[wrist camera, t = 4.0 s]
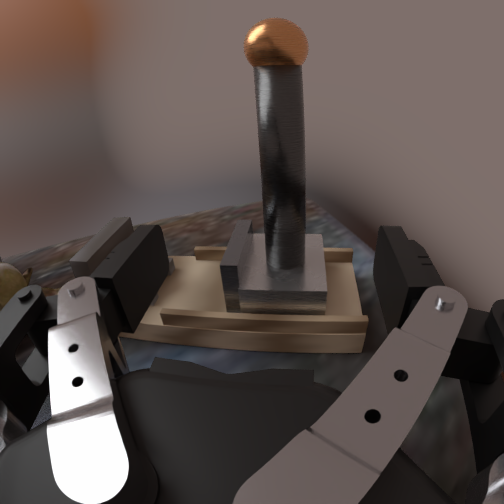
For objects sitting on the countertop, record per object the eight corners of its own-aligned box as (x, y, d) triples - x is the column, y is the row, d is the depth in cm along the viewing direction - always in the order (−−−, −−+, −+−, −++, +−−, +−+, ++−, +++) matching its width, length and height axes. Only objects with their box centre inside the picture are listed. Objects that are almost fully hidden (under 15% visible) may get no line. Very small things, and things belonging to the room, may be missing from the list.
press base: (83, 330, 26) (54, 267, 22) (127, 269, 34) (110, 214, 30) (361, 352, 22) (377, 277, 18) (349, 275, 30) (355, 210, 27)
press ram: (225, 318, 23) (187, 15, 13) (243, 260, 30) (222, 32, 19) (324, 321, 22) (327, 4, 12) (320, 261, 29) (318, 27, 18)
